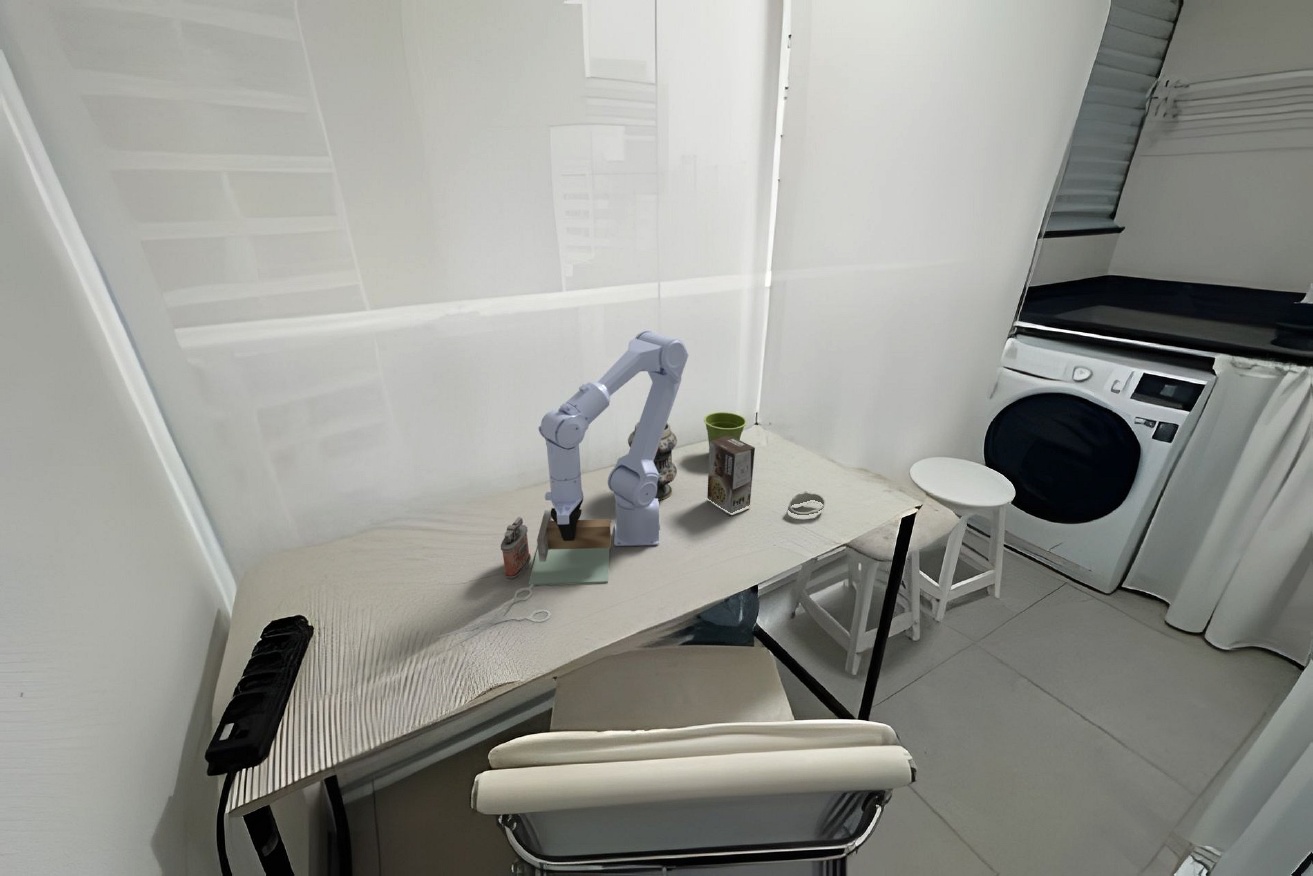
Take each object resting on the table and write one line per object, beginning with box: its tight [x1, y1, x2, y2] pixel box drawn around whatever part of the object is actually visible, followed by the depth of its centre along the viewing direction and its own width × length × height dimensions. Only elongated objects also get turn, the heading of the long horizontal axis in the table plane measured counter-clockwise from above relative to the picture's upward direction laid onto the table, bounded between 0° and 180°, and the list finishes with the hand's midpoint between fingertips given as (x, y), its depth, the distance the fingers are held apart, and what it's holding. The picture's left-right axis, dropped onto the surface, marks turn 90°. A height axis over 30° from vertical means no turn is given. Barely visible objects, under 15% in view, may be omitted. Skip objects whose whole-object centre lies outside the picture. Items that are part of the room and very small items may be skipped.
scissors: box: [435, 584, 552, 652], centre depth 93 cm, size 11×1×20 cm
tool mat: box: [528, 548, 610, 586], centre depth 108 cm, size 15×13×1 cm
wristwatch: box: [787, 491, 826, 515], centre depth 124 cm, size 9×6×5 cm
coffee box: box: [706, 435, 756, 513], centre depth 125 cm, size 9×6×16 cm
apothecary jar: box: [627, 421, 678, 501], centre depth 130 cm, size 12×12×18 cm
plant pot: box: [703, 411, 748, 443], centre depth 150 cm, size 12×12×11 cm
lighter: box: [500, 516, 532, 582], centre depth 104 cm, size 8×3×10 cm, turn 168°
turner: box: [536, 509, 612, 562], centre depth 104 cm, size 13×10×5 cm
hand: (569, 535), depth 104 cm, fingers closed on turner, 2 cm apart
